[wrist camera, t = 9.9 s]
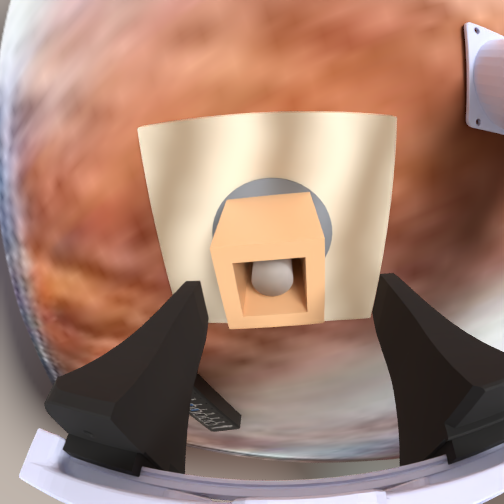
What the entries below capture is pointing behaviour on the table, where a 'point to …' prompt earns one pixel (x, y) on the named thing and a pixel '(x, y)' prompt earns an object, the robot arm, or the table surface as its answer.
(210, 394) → the multiport hub
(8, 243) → the table surface
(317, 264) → the collar
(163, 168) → the post board
